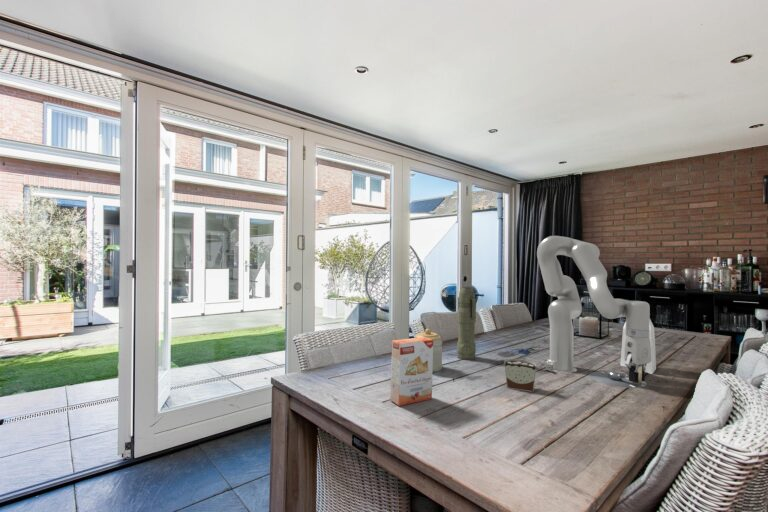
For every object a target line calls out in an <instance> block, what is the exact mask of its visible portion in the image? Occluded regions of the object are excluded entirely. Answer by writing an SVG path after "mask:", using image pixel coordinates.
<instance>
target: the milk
mask: <svg viewBox="0 0 768 512" xmlns="http://www.w3.org/2000/svg"><path fill="white" fill-rule="evenodd" d="M655 336H656V335H655V326H654V324H653V322H652V320H651V319H650V325H649V338H650V344H651V362H650V363H647V365H646V370H645V373H648V374H650V375H653V374H654V372H656V369H657V356H656V337H655ZM626 337H627V336H626V321H625V322H624V325H623V327H622V336H621V338H622V339H621V352H620V363H619V364H620V366H621V367H626V368H628V367H627V366H626V365H625V363H626V361H625V342H626Z"/></svg>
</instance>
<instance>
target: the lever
mask: <svg viewBox="0 0 768 512" xmlns="http://www.w3.org/2000/svg"><path fill="white" fill-rule="evenodd" d="M632 363H633V362H632ZM633 366H634V367H635V365H633ZM607 372H608V377H609V378H611V379H616V380H623V381H626V382H629V383H632V384H634V385H642V365H638V371H637V372H639V382H638V383H635V382H632V381H629V378H627V377H626V372H624V371H622V370H616V369H609V370H607Z"/></svg>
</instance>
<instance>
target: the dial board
mask: <svg viewBox="0 0 768 512" xmlns="http://www.w3.org/2000/svg"><path fill="white" fill-rule="evenodd" d="M626 377H627V378H629V374H626ZM588 378H590V379H592V380H593V381H595V382H597V383H601V384H604V385H608V386H614V387H619V388H628V389H629V388H630V389H638V388H639V389H641V388H645V387H646V386H648V383H647V382H646V380H645V381H642V385H634V384H632V383H629V382H626V381H623V380H616V379H611V378H609V377H608V371H594V372H593V371H592V372H590V373H588Z"/></svg>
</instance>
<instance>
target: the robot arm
mask: <svg viewBox="0 0 768 512" xmlns="http://www.w3.org/2000/svg"><path fill="white" fill-rule="evenodd" d="M600 255H601V252H600V248H599V247H598V246H597V245H596V244H594V243H592V242H586V241H583V240H579V239H574V238H571V237H567V236H562V235H561V236H560V235H549V236H547V237H545V238H544V239H543V240H542V241H541V242H540V243H539V244H538V246H537V251H536V257H537V262H538V265H539V268H540V271H541V272H540V273H541V276H542V280H543V284H544V290H545V291H546V294H548V295H549V296H551V297H556V298H557V299H556V300H553V301H552V302H550V304H549V305H548V308H547V314H548V315H547V316H548V321H549V322H548V323H549V358H547V360H545V361H543V360H539V361H538V365H539V366H540V367H541V366H542V367H543V366H544V367H545V369H546V370H547V371H549V372H551V373H555V374H557V372H560V373H562V372H563V373H575V372H577V371H578V369H577V368H576V367H574V333H575V332H574V326H573V320H574V319H576V318H579V317H580V315H581V314H582V310H583V309H582V307H583V306H582V302H581V299H580V298H581V297H580V295H579V292H578V288H577V284H576V283H575V282H576V281H574V279H573V278H571V277H570V276H568V275H564V273H563V271H562V267H561V263H560V261H559V259H558V258H557V256H565V257H569V258H572V260H573V262H574V263H575V265H576V266H577V268H578V269H579V271H580V272H581V275H582V276H583V279H584V281H585V282H586V286H587V291H588V294H589V297H590V299H591V301H592V303H593V305H594V306H595V308H596V310H597V311H598V312H599V314H600V315H601V316H602V317H604V318H606V319H609V320H612V319H618V318H625V322H626V336H627V337H626V342H625V361H626V363H625V365H626V366H627V367H626V368H627V370H628V375H629V381H632V382H635V383H638V382H639V372H637V371H638V365H642V381H645V382H646V380H645V379H646V377H645V376H646V375H645V374H646V372H645V370H646V365H647V363H650V362H651V344H650V338H649V325H650V320H651V318H650V316H651V313H650V312H651V311H650V310H651V309H650V308H651V307H650V306H651V305H650V304H649V303H648V302H647V301H641V300H629V299H624V298H614V296H613V295H612V294H611V291H610V290H609V287H608V284H607V278H608V271H607V270H606V268H605V266H604V265H603V263H602V262H601V261H600V259H599V257H600ZM632 362H633V363H632ZM633 365H635V367H634V366H633Z"/></svg>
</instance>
